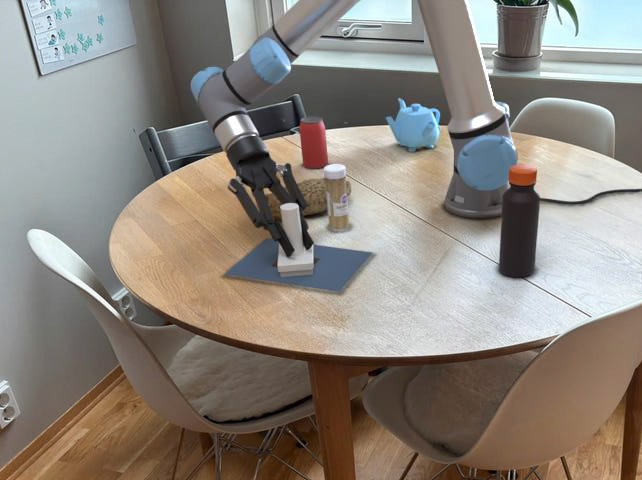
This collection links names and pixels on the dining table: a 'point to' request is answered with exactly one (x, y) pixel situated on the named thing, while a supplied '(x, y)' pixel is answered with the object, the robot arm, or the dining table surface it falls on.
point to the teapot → (415, 126)
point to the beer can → (313, 142)
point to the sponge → (306, 197)
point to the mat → (328, 274)
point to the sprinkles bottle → (336, 196)
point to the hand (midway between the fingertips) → (300, 250)
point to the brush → (294, 245)
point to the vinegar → (519, 223)
